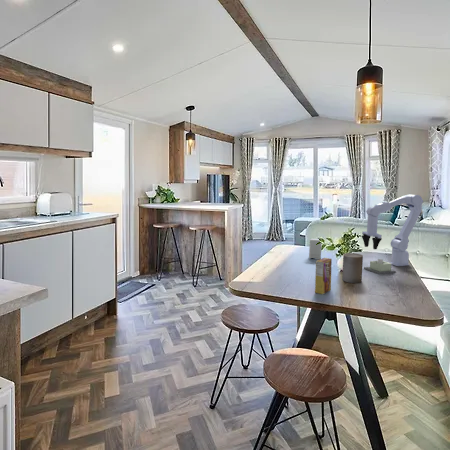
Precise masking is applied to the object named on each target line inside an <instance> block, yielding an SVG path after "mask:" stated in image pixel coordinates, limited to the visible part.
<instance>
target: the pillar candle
mask: <svg viewBox="0 0 450 450" xmlns="http://www.w3.org/2000/svg"><path fill="white" fill-rule="evenodd" d="M363 256H364V255H363V254H361V253H355V252H347V253H343V255H342V278H341V280H342V281H343V282H346V283H350V284H351V283H352V284H359V283H362V280H363V279H362V277H363V261H364V257H363Z"/></svg>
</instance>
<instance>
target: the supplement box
mask: <svg viewBox="0 0 450 450" xmlns="http://www.w3.org/2000/svg"><path fill="white" fill-rule="evenodd" d="M319 239H320V238H309V248H308V249H309V250H308V251H309V253H308V257H309V258H316V259H315V260H320V259H322V243H320V244H318V245H316V244H317V243H318V242H320V241H319Z"/></svg>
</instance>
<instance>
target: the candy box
mask: <svg viewBox="0 0 450 450" xmlns="http://www.w3.org/2000/svg"><path fill="white" fill-rule="evenodd" d="M332 261H333V260H332V258H330V257H329V258H328V257H323V258H322V257H321V259H316V260H315V277H314V278H315V279H314V281H315V284H314V285H315V288H314V293H315V294H319V295H324V294H326V293H328V292H330V291H331V290H332V265H333V264H332Z"/></svg>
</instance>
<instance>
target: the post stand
mask: <svg viewBox="0 0 450 450" xmlns="http://www.w3.org/2000/svg"><path fill="white" fill-rule="evenodd" d="M377 261H378V262H377V263H380V264H383V261H384V260H383V259H379V258H378V259H377ZM363 270H366V271H369V272H372V273H374V274H377V275H382V274H383V275H384V274H395V273H397V271H396V270H395V269H392V268H391V270H389V271H377V270H374V269H371V268H370V266H366V267H365V266H364V267H363Z"/></svg>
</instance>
